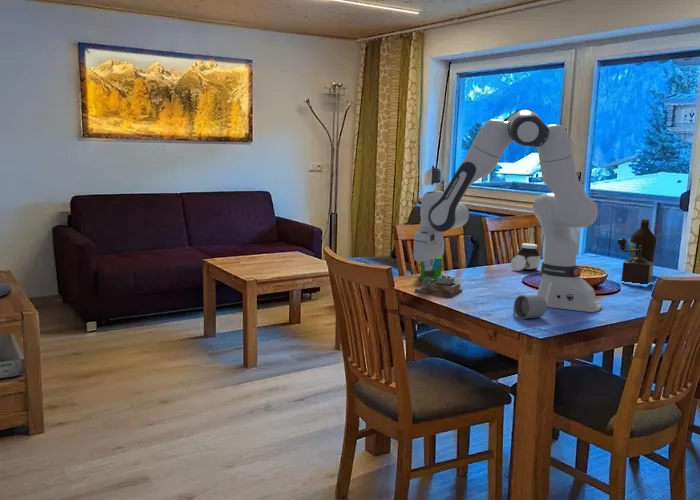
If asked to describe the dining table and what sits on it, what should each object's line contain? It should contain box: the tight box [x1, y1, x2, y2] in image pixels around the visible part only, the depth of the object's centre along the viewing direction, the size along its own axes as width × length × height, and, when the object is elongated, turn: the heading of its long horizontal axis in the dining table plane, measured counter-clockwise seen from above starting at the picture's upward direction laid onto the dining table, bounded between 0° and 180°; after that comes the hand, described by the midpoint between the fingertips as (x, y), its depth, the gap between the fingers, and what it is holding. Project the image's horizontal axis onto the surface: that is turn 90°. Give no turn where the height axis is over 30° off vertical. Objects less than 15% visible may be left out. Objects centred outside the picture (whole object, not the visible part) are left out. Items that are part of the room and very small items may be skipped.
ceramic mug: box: [512, 294, 548, 320], centre depth 209 cm, size 11×8×8 cm
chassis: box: [414, 278, 463, 298], centre depth 239 cm, size 14×12×4 cm
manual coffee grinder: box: [617, 238, 655, 284], centre depth 268 cm, size 16×11×18 cm
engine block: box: [436, 274, 455, 286], centre depth 238 cm, size 5×4×6 cm
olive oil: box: [628, 218, 657, 262], centre depth 287 cm, size 11×11×25 cm
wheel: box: [423, 270, 435, 280], centre depth 241 cm, size 5×5×5 cm
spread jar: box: [510, 242, 541, 272], centre depth 288 cm, size 12×11×12 cm
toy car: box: [418, 256, 444, 282], centre depth 261 cm, size 10×13×10 cm
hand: (428, 270), depth 240 cm, fingers closed, pressing on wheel
